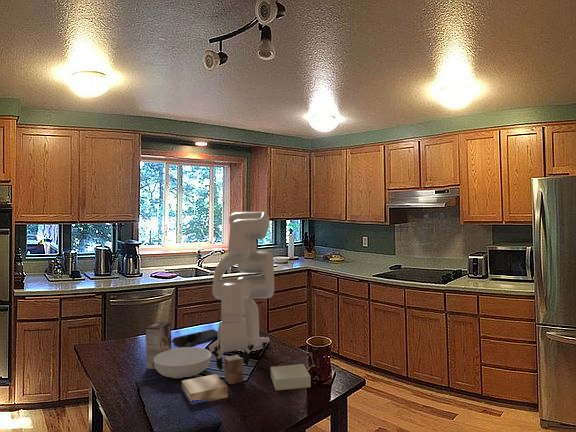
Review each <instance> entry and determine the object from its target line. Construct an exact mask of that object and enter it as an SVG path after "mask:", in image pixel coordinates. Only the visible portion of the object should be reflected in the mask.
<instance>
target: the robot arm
mask: <svg viewBox="0 0 576 432" xmlns="http://www.w3.org/2000/svg"><path fill="white" fill-rule="evenodd" d="M228 222H229V225H230V227H229V237H228V246H227V248H228V249H227V254H226V255H225V256H224V257H223V258H222V259H221V260H220V261H219V263H218V264H217V266H216V267H215V269H214V273H213V278H212V279H213V280H212V295H213V298H215V299H216V300H219V301H220V300H221V301H220V302H221V303H220V307H221V321H220V322H219V324H218V327H217V331H218V336H217V338H216V339H217V340H215V341H214V342H212V343H211V344H210V345H208V349H209V351H210V352H211V355H213V356H214V357H215V361H216V365H215V366H216V368H217V369H219V371H222V370H223V368H224V367H223V358H222V357H223V355H224V354H225V353H230V352H234V351H235V352H237V351H242V352H243V353H242V356H243V358H242V359H243V365H246V366H249V362H250V352H251V351H256V350H260V349H262V350H263V349H264V345H263V344H264V343H269V342H270V337H267V336H266V337H264V336H262V337H260V322H259V321H260V319H259V318H260V317H259V315H260V314H259V312H260V311H259V305H258V304H257V303H256V302H255V300H254V299H270V298H272V297H273V296H274V294H275V266H274V265H275V263H274V257H273V254H272V253H271V252H269V251H258V250H257V240H264V239H265V238H266V236H267V233H268V230H269V228H270V216H269V214H268V213H267V212H266V211H238V212H237V211H236V212H232V213H231V214H230V215H229V218H228ZM236 265H237V269H238V271H239V272H240V273H242V274H262V276H261V275H259V276H258V275H257V276H256V275H255V276H253V275H251V276H250V275H248V276H240V277H237V278H236V279H234V278H233V279H232V278H229V279H227V278H226V279H223V276H224V274H225V273H226V271H227V270H229V269H230V268H232V267H234V266H236ZM216 347H217V351H216V349H215V348H216ZM236 350H237V351H236ZM260 351H261V350H260Z"/></svg>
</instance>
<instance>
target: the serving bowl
mask: <svg viewBox="0 0 576 432" xmlns="http://www.w3.org/2000/svg"><path fill="white" fill-rule="evenodd" d="M211 358H212V353H211V351H210V349H209V350H208V349H206V348H204V347H197V346H190V347H183V346H181V347H176V348H172V349H170V350H166V351H163V352H161V353H159V354H157V355H156V356H155V357H154V359H153V360H154V365H155V368H156V369H155V370H156V371H157V372H158V373H159V374H160V375H162V376H163V377H167V378H170V377H171V378H170V379H183V378H182V377H187V378H192V377H195V376H197V375H199V374H201V373H202V372H205V370H206V369H207V368H208V367H209V365H210V363H211V360H212V359H211Z"/></svg>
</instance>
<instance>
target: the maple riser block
mask: <svg viewBox="0 0 576 432" xmlns="http://www.w3.org/2000/svg"><path fill="white" fill-rule="evenodd" d="M182 387H183V389H184V391H185V392H186V394H187V396H188V397H189V399H190V401H192V400H202V399H207V400H209V402H213V401H218V400H221V399H227V398H228V397H229V392H228V385H227V384H226V382H225V381H223V379H221V377H220V376H219V375H218V374H217V373H215V374H214V373H213V374H209V375H205V376H204V375H203V376H198V377H194V378H190V379H189V378H188V379H184V380H181V388H182Z"/></svg>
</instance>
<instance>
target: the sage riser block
mask: <svg viewBox="0 0 576 432" xmlns="http://www.w3.org/2000/svg"><path fill="white" fill-rule="evenodd" d="M270 378H271V381H272V384H273V386H274V390H275V391H283V390H293V389H304V388H306V389H307V388H311V386H312V385H311V383H312V381H311V374H310V373H309V371H308V370H307V368H306V366H305V365H304V363H300V364H299V363H298V364H290V365H289V364H288V365H277V366H270Z"/></svg>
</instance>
